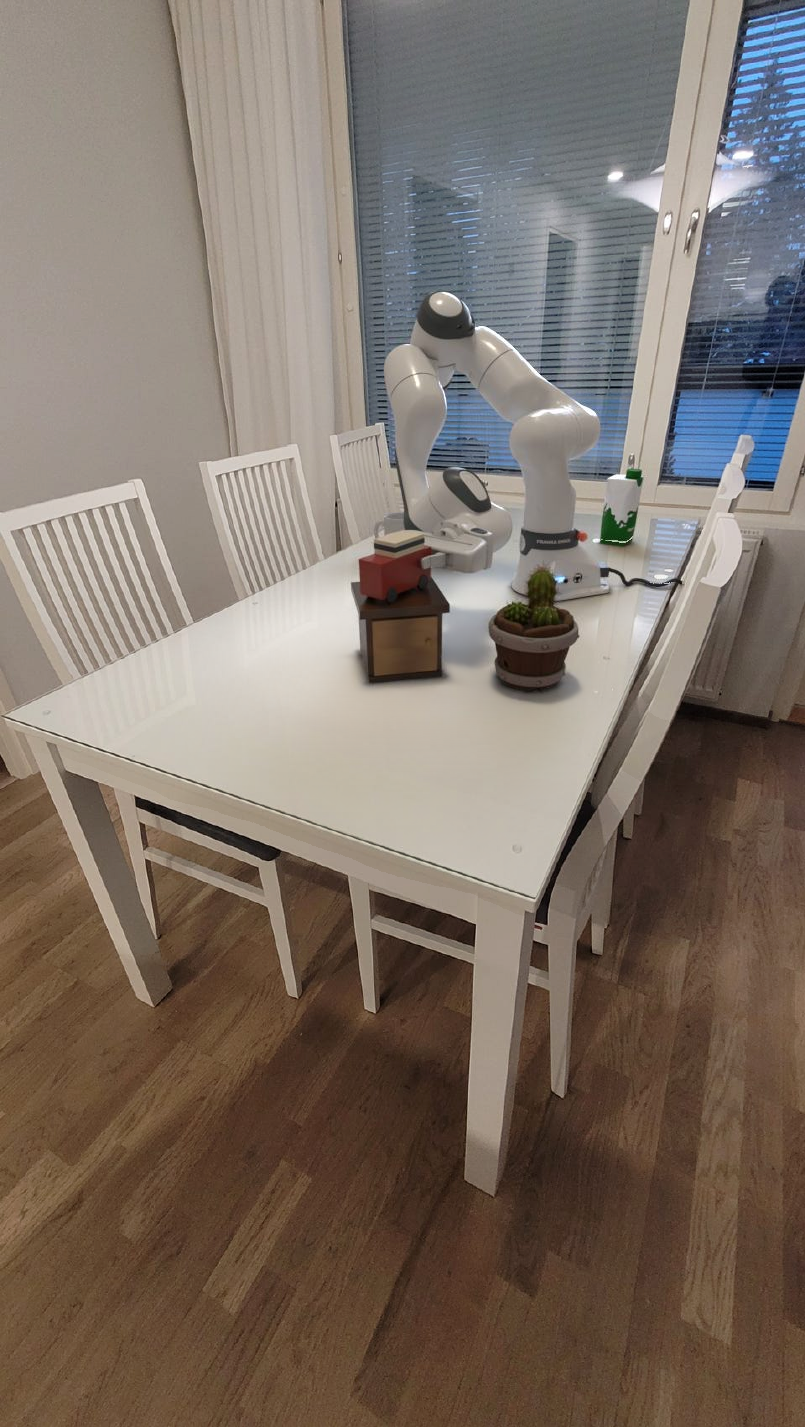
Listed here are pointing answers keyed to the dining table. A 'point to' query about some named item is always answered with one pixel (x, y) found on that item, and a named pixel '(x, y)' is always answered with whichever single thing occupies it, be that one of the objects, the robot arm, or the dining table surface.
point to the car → (394, 566)
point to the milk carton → (621, 507)
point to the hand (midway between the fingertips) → (406, 560)
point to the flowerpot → (533, 636)
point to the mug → (390, 523)
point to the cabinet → (401, 633)
